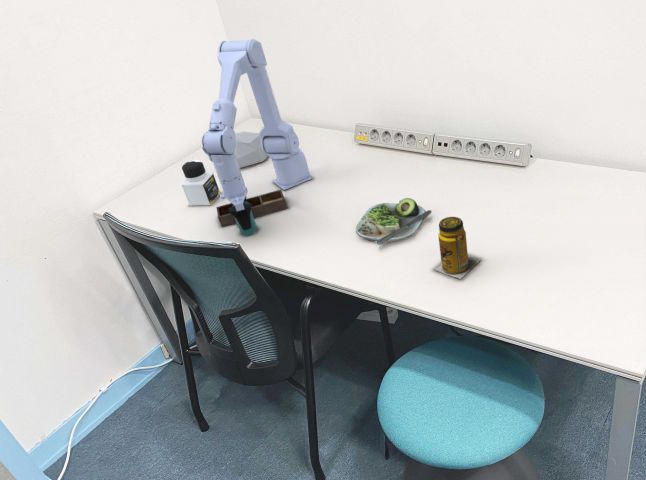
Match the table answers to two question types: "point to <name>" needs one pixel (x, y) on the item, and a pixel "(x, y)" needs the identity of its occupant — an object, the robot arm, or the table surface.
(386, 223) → the salad plate
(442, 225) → the condiment
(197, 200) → the medicine bottle
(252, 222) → the jar
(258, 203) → the rack
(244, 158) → the rock
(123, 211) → the table surface
